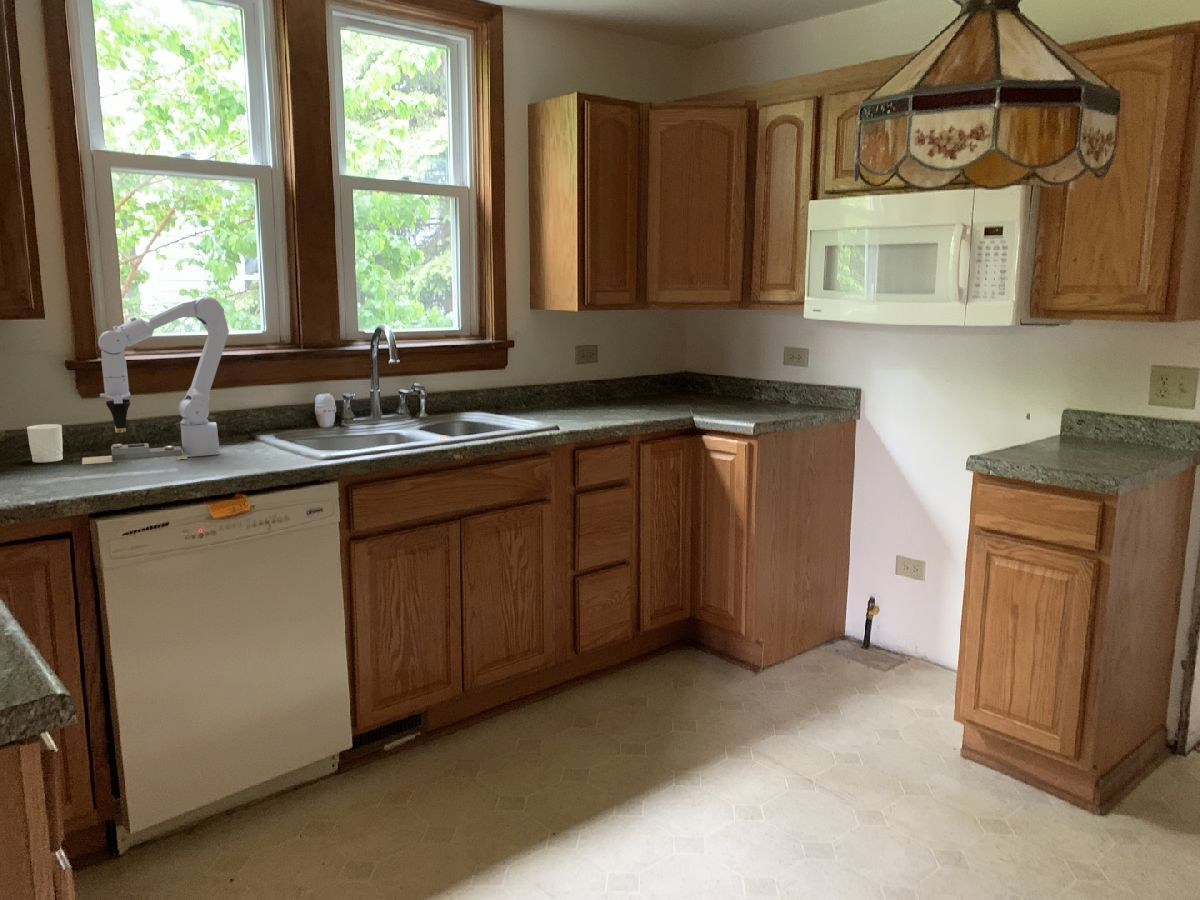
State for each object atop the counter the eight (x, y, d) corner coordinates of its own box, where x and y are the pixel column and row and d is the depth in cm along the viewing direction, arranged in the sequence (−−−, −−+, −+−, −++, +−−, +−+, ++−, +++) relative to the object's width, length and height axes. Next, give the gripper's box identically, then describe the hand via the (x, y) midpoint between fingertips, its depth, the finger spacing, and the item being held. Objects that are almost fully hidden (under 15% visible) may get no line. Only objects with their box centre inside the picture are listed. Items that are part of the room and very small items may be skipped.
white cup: (27, 463, 241) (23, 426, 239) (60, 459, 246) (56, 423, 244) (35, 467, 235) (31, 429, 233) (69, 463, 240) (65, 426, 239)
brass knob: (127, 430, 244) (124, 406, 243) (127, 432, 242) (125, 407, 240) (113, 431, 243) (111, 407, 242) (113, 433, 240) (111, 408, 239)
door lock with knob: (184, 453, 255) (183, 437, 254) (187, 459, 247) (186, 442, 246) (82, 461, 243) (81, 444, 243) (82, 468, 235) (80, 450, 234)
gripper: (98, 375, 244) (103, 424, 246) (98, 380, 231) (103, 432, 234) (127, 373, 247) (132, 422, 250) (129, 378, 235) (134, 430, 237)
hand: (120, 427), depth 242 cm, fingers closed on brass knob, 3 cm apart
